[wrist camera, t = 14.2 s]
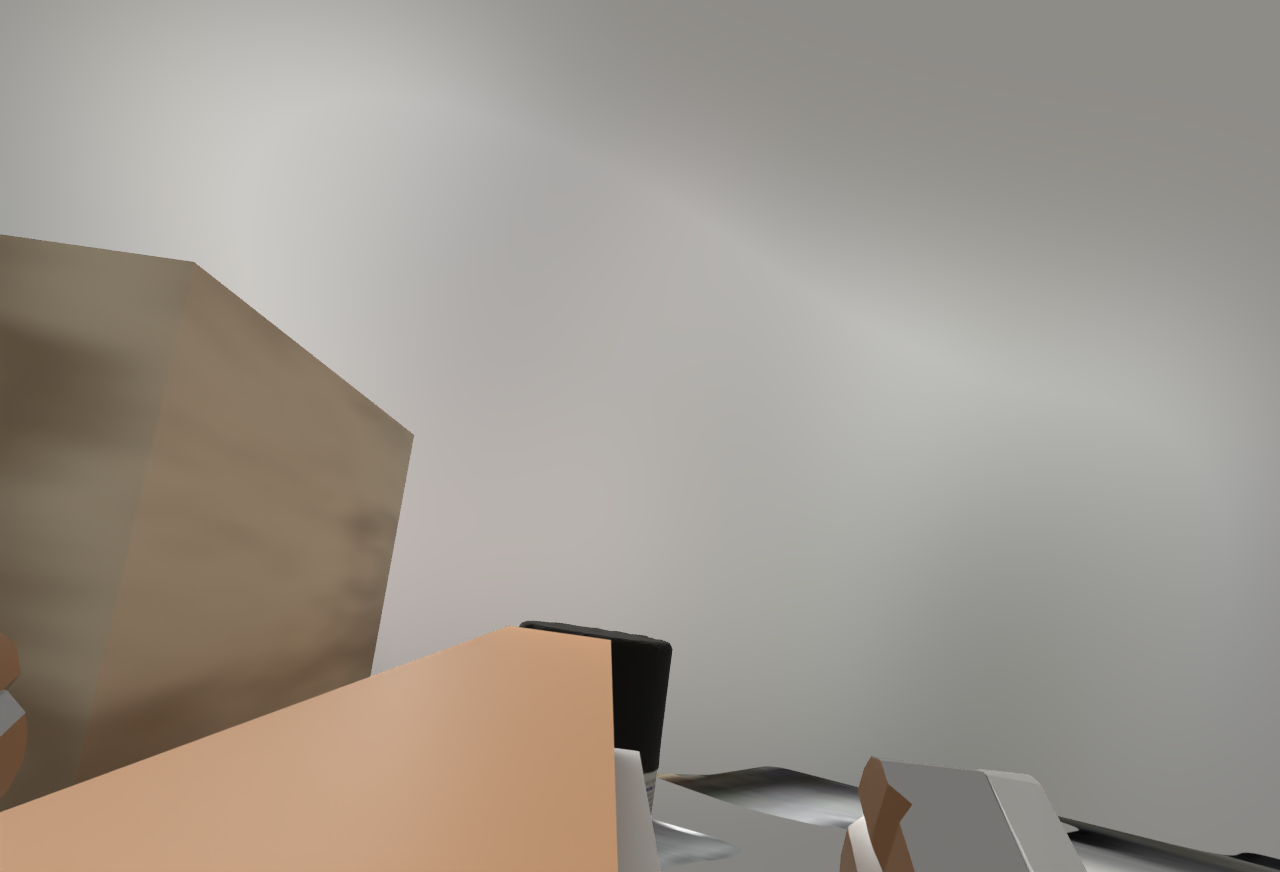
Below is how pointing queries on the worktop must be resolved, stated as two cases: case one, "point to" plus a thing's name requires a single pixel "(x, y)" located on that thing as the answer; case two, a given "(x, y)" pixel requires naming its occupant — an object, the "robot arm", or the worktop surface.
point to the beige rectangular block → (175, 511)
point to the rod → (368, 778)
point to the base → (633, 816)
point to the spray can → (632, 691)
